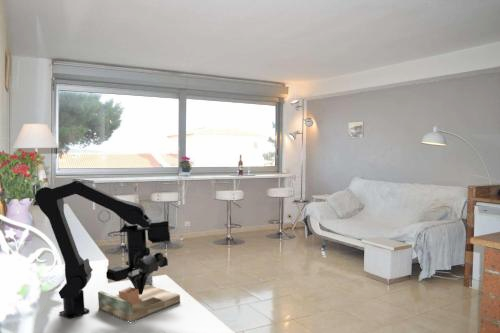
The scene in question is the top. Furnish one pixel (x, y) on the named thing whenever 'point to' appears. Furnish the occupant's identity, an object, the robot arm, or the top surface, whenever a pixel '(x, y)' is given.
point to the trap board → (147, 304)
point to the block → (129, 295)
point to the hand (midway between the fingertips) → (140, 294)
